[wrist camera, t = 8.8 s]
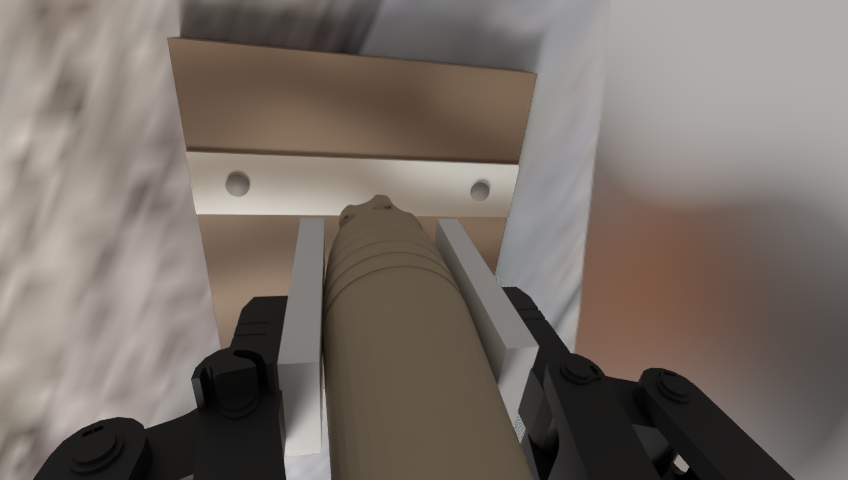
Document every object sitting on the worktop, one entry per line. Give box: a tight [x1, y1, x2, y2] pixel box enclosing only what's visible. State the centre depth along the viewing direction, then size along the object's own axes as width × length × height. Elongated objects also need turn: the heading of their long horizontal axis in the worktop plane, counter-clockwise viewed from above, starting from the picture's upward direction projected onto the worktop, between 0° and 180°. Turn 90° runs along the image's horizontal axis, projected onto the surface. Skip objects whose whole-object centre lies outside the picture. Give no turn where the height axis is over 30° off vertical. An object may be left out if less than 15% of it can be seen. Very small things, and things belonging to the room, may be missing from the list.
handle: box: [322, 195, 534, 480], centre depth 9 cm, size 5×6×15 cm
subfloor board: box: [167, 37, 537, 389], centre depth 22 cm, size 20×16×2 cm
